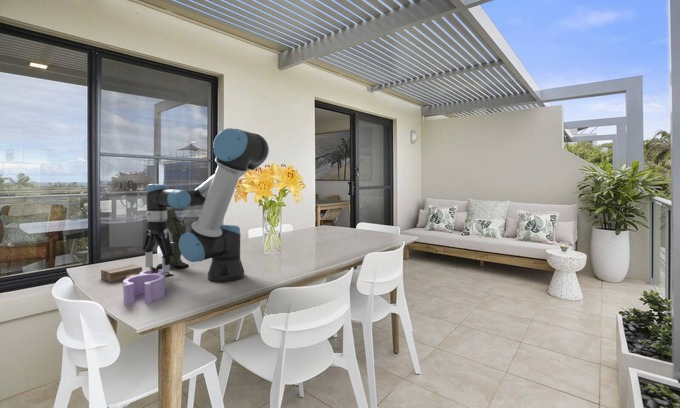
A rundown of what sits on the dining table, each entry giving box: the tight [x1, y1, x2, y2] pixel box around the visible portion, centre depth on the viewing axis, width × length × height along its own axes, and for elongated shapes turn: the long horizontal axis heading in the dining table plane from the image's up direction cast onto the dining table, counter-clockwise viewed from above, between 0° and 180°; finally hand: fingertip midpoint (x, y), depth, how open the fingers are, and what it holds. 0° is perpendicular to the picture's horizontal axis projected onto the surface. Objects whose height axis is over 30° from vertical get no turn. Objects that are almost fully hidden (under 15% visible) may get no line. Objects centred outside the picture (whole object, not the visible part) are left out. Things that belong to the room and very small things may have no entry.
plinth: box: [100, 263, 143, 284], centre depth 137 cm, size 9×12×4 cm
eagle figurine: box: [148, 263, 175, 276], centre depth 138 cm, size 8×7×9 cm
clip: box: [122, 269, 166, 306], centre depth 116 cm, size 20×12×7 cm, turn 14°
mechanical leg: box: [166, 207, 189, 270], centre depth 154 cm, size 14×7×30 cm, turn 84°
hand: (157, 269), depth 137 cm, fingers open, 13 cm apart
